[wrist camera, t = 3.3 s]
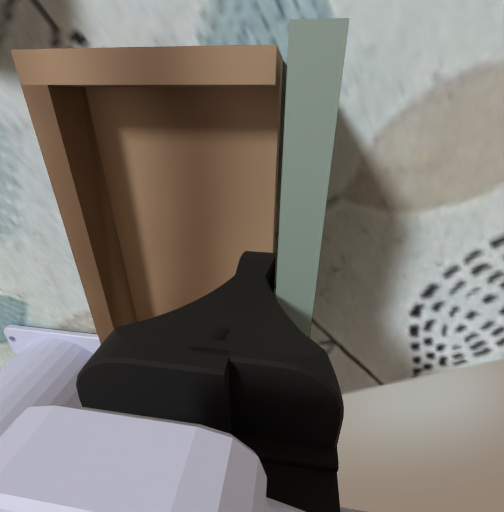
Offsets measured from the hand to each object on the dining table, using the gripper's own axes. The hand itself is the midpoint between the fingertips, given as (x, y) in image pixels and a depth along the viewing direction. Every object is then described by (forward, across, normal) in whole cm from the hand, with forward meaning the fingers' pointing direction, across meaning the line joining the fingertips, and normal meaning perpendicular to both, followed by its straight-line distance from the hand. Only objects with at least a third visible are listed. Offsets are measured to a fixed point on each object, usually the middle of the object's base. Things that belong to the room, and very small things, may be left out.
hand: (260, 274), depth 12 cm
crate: (+4, +4, 0) cm, 6 cm away
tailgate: (+3, -2, 0) cm, 3 cm away
